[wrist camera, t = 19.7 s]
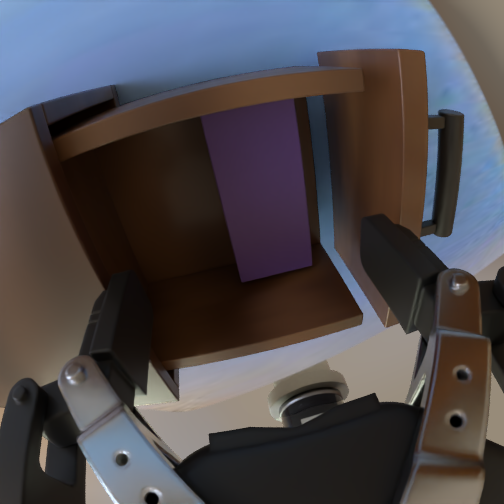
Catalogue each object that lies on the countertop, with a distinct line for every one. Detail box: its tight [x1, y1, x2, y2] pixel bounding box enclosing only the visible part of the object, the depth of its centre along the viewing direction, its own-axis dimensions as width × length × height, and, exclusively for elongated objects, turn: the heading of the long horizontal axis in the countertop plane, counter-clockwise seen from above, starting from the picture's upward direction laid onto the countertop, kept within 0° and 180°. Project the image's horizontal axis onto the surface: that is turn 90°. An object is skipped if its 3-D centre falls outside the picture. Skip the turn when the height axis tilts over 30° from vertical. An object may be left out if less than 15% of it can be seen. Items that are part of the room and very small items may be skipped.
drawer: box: [51, 49, 464, 371], centre depth 14 cm, size 19×13×8 cm
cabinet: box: [0, 85, 179, 408], centre depth 14 cm, size 16×14×10 cm
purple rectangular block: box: [200, 99, 312, 282], centre depth 15 cm, size 9×4×3 cm, turn 11°
